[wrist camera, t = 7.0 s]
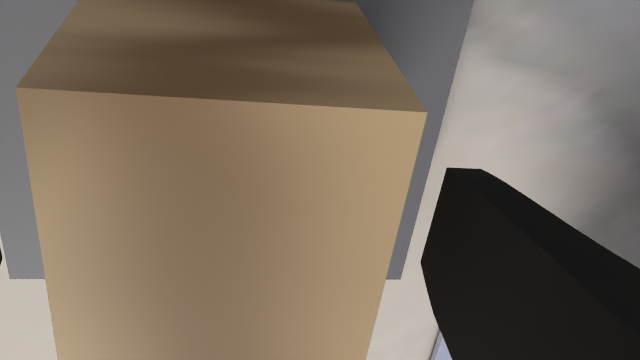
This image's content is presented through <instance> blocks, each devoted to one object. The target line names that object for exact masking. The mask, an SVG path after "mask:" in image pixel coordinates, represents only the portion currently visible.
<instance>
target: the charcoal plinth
mask: <svg viewBox="0 0 640 360" xmlns="http://www.w3.org/2000/svg"><path fill="white" fill-rule="evenodd" d="M78 1H79V0H0V233H1V238H2V243H3V248H4V253H5V258H6V262H7V267H8V272H9V277H10V279H45V274H44V267H43V261H42V254H41V248H40V241H39V235H38V229H37V222H36V216H35V209H34V203H33V196H32V190H31V184H30V177H29V171H28V164H27V158H26V152H25V145H24V139H23V132H22V126H21V119H20V113H19V107H18V100H17V94H16V86H17V85H18V83H19V82H20V81H21V79H22V78H23V77H24V75H25V74H26V72H27V71H28V70H29V68H30V67H31V66H32V64H33V63H34V61H35V60H36V59H37V57H38V56H39V54H40V53H41V52H42V50H43V49H44V48H45V46H46V45H47V43H48V42H49V41H50V39H51V38H52V37H53V35H54V34H55V32H56V31H57V30H58V28H59V27H60V26H61V24H62V23H63V21H64V20H65V19H66V17H67V16H68V14H69V13H70V12H71V10H72V9H73V8H74V6H75V5H76V3H77V2H78ZM335 1H345V2H356V3H357V5H358V6H359V8H360V9H361V11H362V12H363V14H364V16H365V17H366V19H367V20H368V22H369V23H370V25H371V26H372V28H373V29H374V31H375V32H376V34H377V36H378V37H379V39H380V40H381V42H382V43H383V45H384V46H385V48H386V49H387V51H388V52H389V54H390V55H391V57H392V59H393V60H394V62H395V63H396V65H397V66H398V68H399V69H400V71H401V72H402V74H403V75H404V77H405V79H406V80H407V82H408V83H409V85H410V86H411V88H412V89H413V91H414V92H415V94H416V95H417V97H418V98H419V100H420V102H421V103H422V105H423V106H424V108H425V109H426V111H427V112H428V113H427V117H426V121H425V125H424V129H423V133H422V137H421V141H420V145H419V149H418V153H417V157H416V161H415V165H414V169H413V173H412V177H411V181H410V185H409V189H408V193H407V197H406V201H405V205H404V209H403V213H402V217H401V221H400V225H399V229H398V232H397V236H396V240H395V244H394V248H393V252H392V256H391V260H390V264H389V268H388V272H387V276H386V279H401V275H402V271H403V267H404V264H405V260H406V256H407V252H408V248H409V245H410V241H411V237H412V233H413V229H414V226H415V222H416V218H417V214H418V210H419V207H420V203H421V199H422V195H423V191H424V188H425V184H426V180H427V176H428V172H429V169H430V165H431V161H432V157H433V153H434V150H435V146H436V142H437V138H438V134H439V131H440V127H441V123H442V119H443V115H444V112H445V108H446V104H447V100H448V96H449V93H450V89H451V85H452V81H453V77H454V74H455V70H456V66H457V62H458V58H459V55H460V51H461V47H462V43H463V39H464V36H465V32H466V28H467V24H468V20H469V17H470V13H471V9H472V5H473V1H474V0H335Z"/></svg>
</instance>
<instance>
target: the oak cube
mask: <svg viewBox="0 0 640 360" xmlns="http://www.w3.org/2000/svg"><path fill="white" fill-rule="evenodd" d="M16 94H17V100H18V107H19V113H20V119H21V126H22V132H23V139H24V145H25V152H26V158H27V164H28V171H29V177H30V184H31V190H32V196H33V203H34V209H35V216H36V222H37V229H38V235H39V241H40V248H41V254H42V261H43V267H44V274H45V280H46V286H47V293H48V299H49V306H50V312H51V319H52V325H53V331H54V338H55V344H56V351H57V357H58V360H366V356H367V352H368V348H369V344H370V340H371V336H372V332H373V328H374V324H375V320H376V316H377V312H378V308H379V304H380V300H381V296H382V292H383V288H384V284H385V280H386V276H387V272H388V268H389V264H390V260H391V256H392V252H393V248H394V244H395V240H396V236H397V232H398V229H399V225H400V221H401V217H402V213H403V209H404V205H405V201H406V197H407V193H408V189H409V185H410V181H411V177H412V173H413V169H414V165H415V161H416V157H417V153H418V149H419V145H420V141H421V137H422V133H423V129H424V125H425V121H426V117H427V113H428V112H427V111H426V109H425V108H424V106H423V105H422V103H421V102H420V100H419V98H418V97H417V95H416V94H415V92H414V91H413V89H412V88H411V86H410V85H409V83H408V82H407V80H406V79H405V77H404V75H403V74H402V72H401V71H400V69H399V68H398V66H397V65H396V63H395V62H394V60H393V59H392V57H391V55H390V54H389V52H388V51H387V49H386V48H385V46H384V45H383V43H382V42H381V40H380V39H379V37H378V36H377V34H376V32H375V31H374V29H373V28H372V26H371V25H370V23H369V22H368V20H367V19H366V17H365V16H364V14H363V12H362V11H361V9H360V8H359V6H358V5H357V3H356V2H345V1H335V0H79V1H78V2H77V3H76V5H75V6H74V8H73V9H72V10H71V12H70V13H69V14H68V16H67V17H66V19H65V20H64V21H63V23H62V24H61V26H60V27H59V28H58V30H57V31H56V32H55V34H54V35H53V37H52V38H51V39H50V41H49V42H48V43H47V45H46V46H45V48H44V49H43V50H42V52H41V53H40V54H39V56H38V57H37V59H36V60H35V61H34V63H33V64H32V66H31V67H30V68H29V70H28V71H27V72H26V74H25V75H24V77H23V78H22V79H21V81H20V82H19V83H18V85H17V86H16Z"/></svg>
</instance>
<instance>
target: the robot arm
mask: <svg viewBox="0 0 640 360" xmlns="http://www.w3.org/2000/svg"><path fill="white" fill-rule="evenodd" d="M1 261H2V254H1V249H0V264H1ZM421 266H422V270H423V275H424V279H425V283H426V287H427V291H428V295H429V299H430V302H431V306H432V310H433V313H434V316H435V318H436V321H437V324H438V326H439V329H440V333H439V336H438V339H437V342H436V345H435V348H434V351H433V354H432V357H431V360H640V269H639V268H638V267H636V266H634V265H632V264H631V263H629V262H627V261H626V260H624V259H622V258H621V257H619V256H617V255H616V254H614V253H612V252H611V251H609V250H608V249H606V248H605V247H603V246H601V245H600V244H598V243H597V242H595V241H593V240H592V239H590V238H589V237H587V236H586V235H584V234H583V233H581V232H579V231H578V230H576V229H575V228H573V227H572V226H570V225H569V224H567V223H566V222H564V221H563V220H561V219H560V218H558V217H557V216H555V215H554V214H552V213H551V212H549V211H548V210H546V209H545V208H543V207H542V206H540V205H539V204H537V203H536V202H534V201H533V200H531V199H530V198H528V197H527V196H525V195H524V194H522V193H521V192H519V191H518V190H516V189H514V188H513V187H511V186H510V185H508V184H507V183H505V182H503V181H502V180H500V179H498V178H497V177H495V176H493V175H492V174H490V173H488V172H486V171H484V170H482V169H466V168H447V169H446V173H445V176H444V180H443V183H442V187H441V191H440V194H439V198H438V201H437V205H436V209H435V212H434V216H433V219H432V223H431V226H430V230H429V234H428V237H427V241H426V244H425V248H424V251H423V255H422V259H421Z"/></svg>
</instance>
